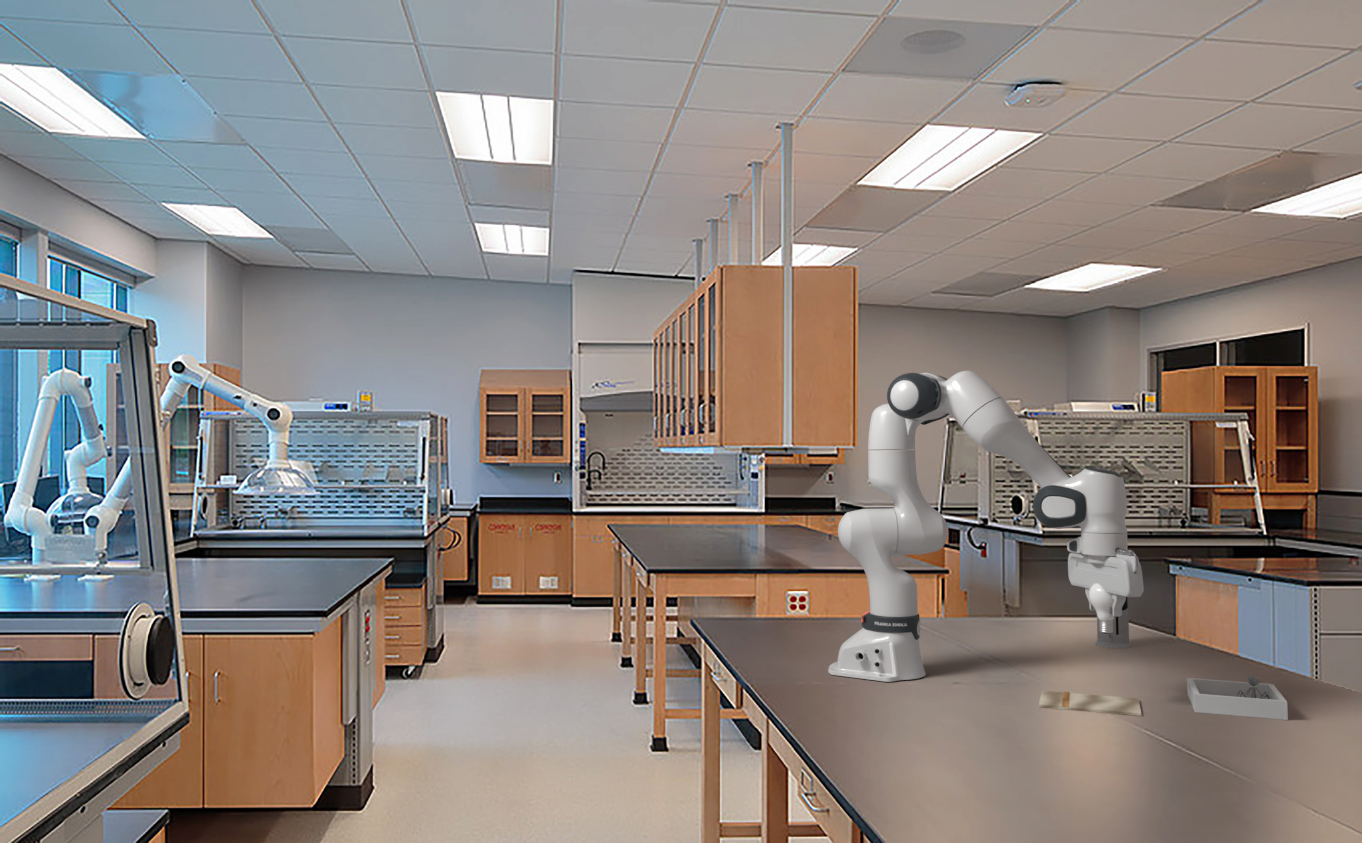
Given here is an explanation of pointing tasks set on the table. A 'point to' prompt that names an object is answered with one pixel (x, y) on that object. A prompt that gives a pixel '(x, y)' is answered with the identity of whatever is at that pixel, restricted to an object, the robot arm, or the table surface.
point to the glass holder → (1116, 631)
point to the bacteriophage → (1253, 681)
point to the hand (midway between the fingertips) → (1105, 613)
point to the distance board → (1090, 703)
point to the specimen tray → (1236, 699)
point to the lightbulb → (1102, 607)
